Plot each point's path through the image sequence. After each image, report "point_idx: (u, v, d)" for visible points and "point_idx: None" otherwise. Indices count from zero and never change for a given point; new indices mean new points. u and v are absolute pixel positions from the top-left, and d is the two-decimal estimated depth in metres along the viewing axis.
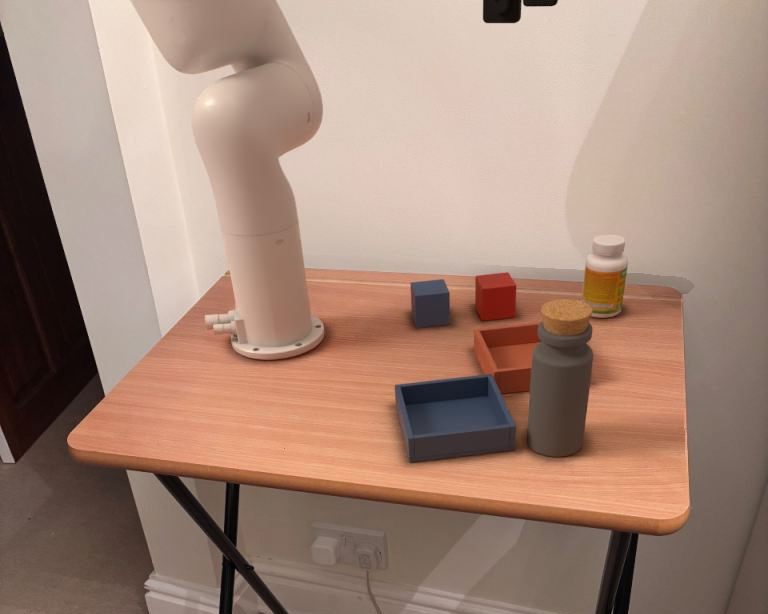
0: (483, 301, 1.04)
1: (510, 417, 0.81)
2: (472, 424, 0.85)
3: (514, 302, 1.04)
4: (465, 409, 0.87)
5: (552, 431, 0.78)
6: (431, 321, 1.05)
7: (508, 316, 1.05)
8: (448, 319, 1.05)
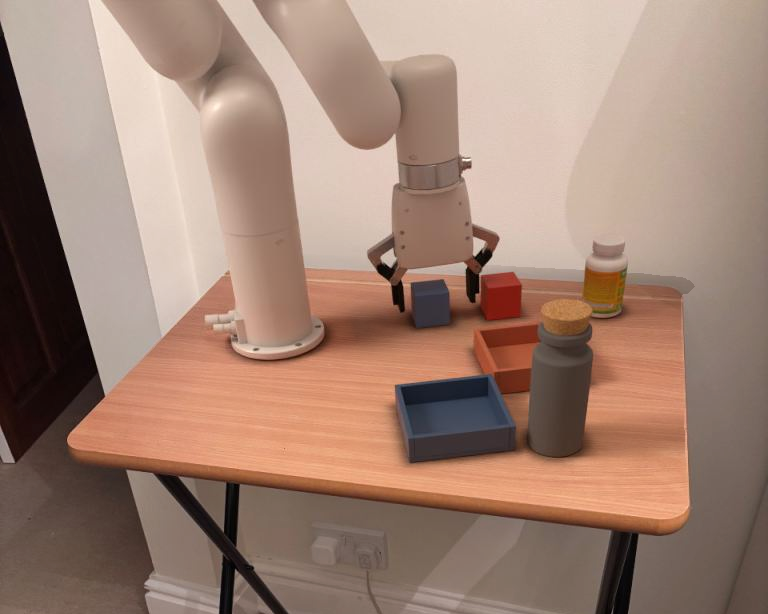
0: (488, 300, 1.04)
1: (510, 417, 0.81)
2: (472, 424, 0.85)
3: (519, 301, 1.04)
4: (465, 409, 0.87)
5: (552, 431, 0.78)
6: (431, 321, 1.05)
7: (513, 315, 1.06)
8: (448, 319, 1.05)
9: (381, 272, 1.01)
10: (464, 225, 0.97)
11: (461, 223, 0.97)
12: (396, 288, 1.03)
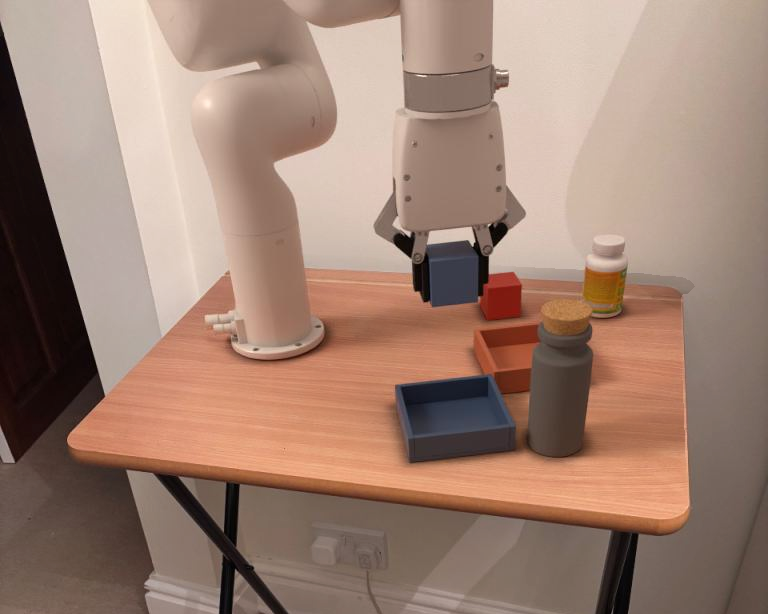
0: (488, 300, 1.04)
1: (510, 417, 0.81)
2: (472, 424, 0.85)
3: (519, 301, 1.04)
4: (465, 409, 0.87)
5: (552, 431, 0.78)
6: (452, 298, 0.76)
7: (513, 315, 1.06)
8: (476, 295, 0.76)
9: (400, 245, 0.73)
10: (495, 169, 0.69)
11: (491, 166, 0.68)
12: (419, 268, 0.75)
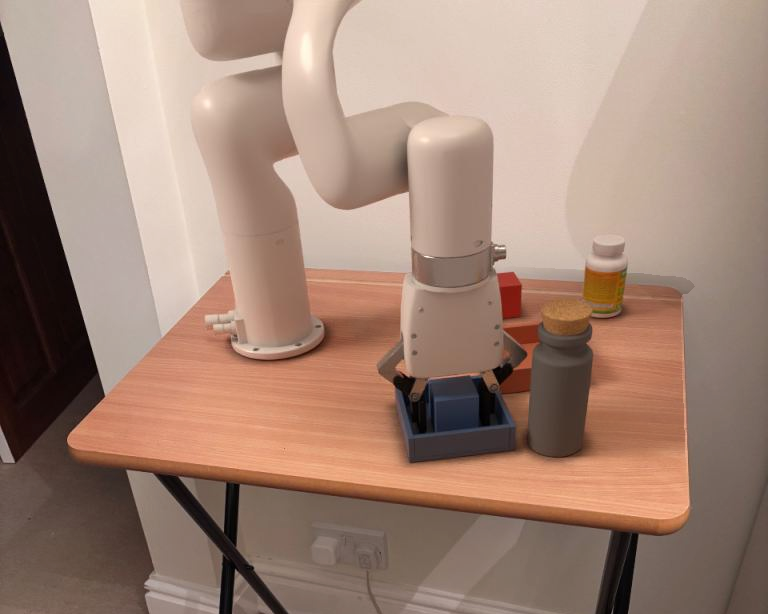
0: None
1: (510, 417, 0.81)
2: None
3: (519, 301, 1.04)
4: None
5: (552, 431, 0.78)
6: None
7: (513, 315, 1.06)
8: (476, 427, 0.83)
9: (399, 386, 0.80)
10: (493, 328, 0.76)
11: (490, 326, 0.76)
12: (416, 404, 0.82)
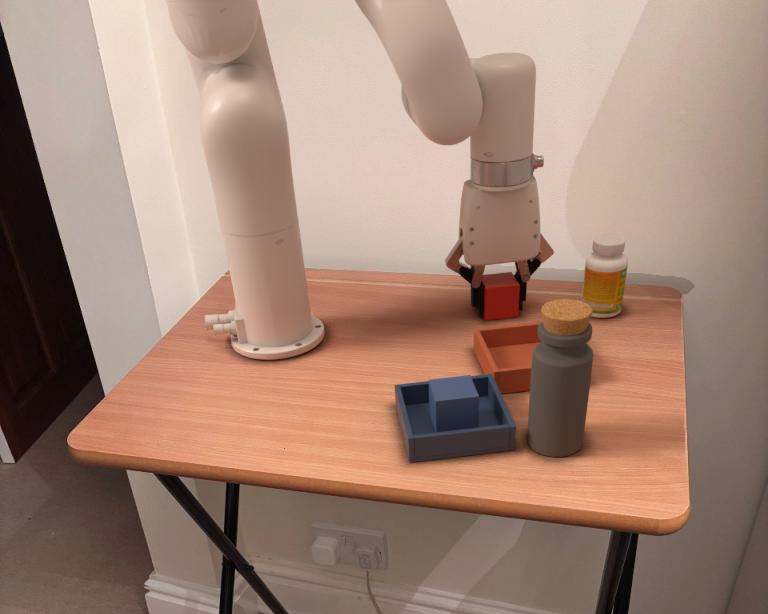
0: (486, 301, 1.04)
1: (510, 417, 0.81)
2: None
3: (517, 302, 1.04)
4: None
5: (552, 431, 0.78)
6: None
7: (511, 316, 1.06)
8: (476, 427, 0.83)
9: (464, 274, 1.03)
10: (533, 223, 0.98)
11: (530, 221, 0.98)
12: (477, 291, 1.04)
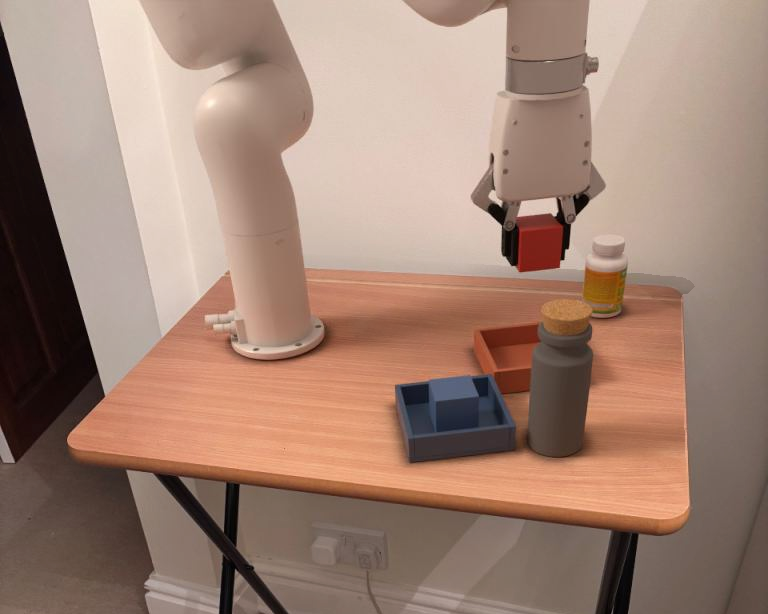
0: (521, 247, 0.84)
1: (510, 417, 0.81)
2: None
3: (559, 249, 0.84)
4: None
5: (552, 431, 0.78)
6: None
7: (552, 267, 0.86)
8: (476, 427, 0.83)
9: (494, 213, 0.82)
10: (583, 145, 0.78)
11: (580, 142, 0.78)
12: (509, 235, 0.84)
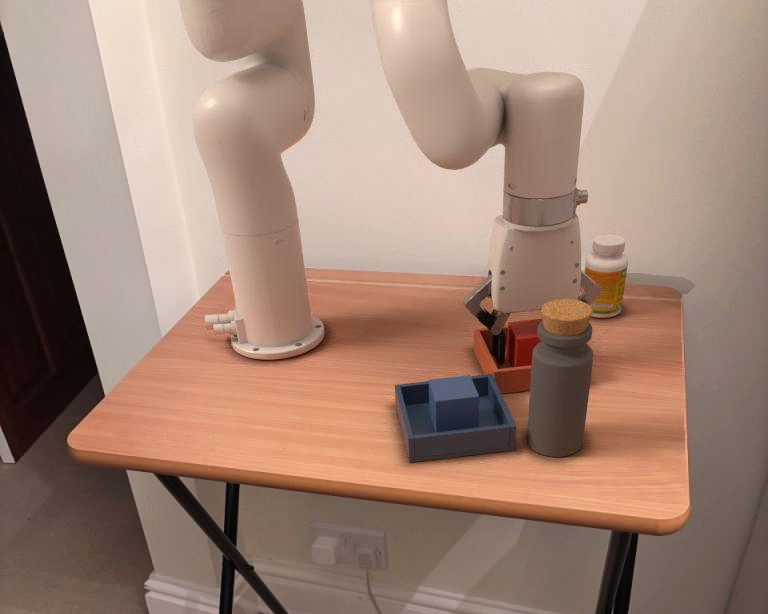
0: (517, 352, 0.91)
1: (510, 417, 0.81)
2: None
3: None
4: None
5: (552, 431, 0.78)
6: None
7: None
8: (476, 427, 0.83)
9: (482, 320, 0.89)
10: (573, 266, 0.85)
11: (570, 264, 0.85)
12: (497, 338, 0.91)
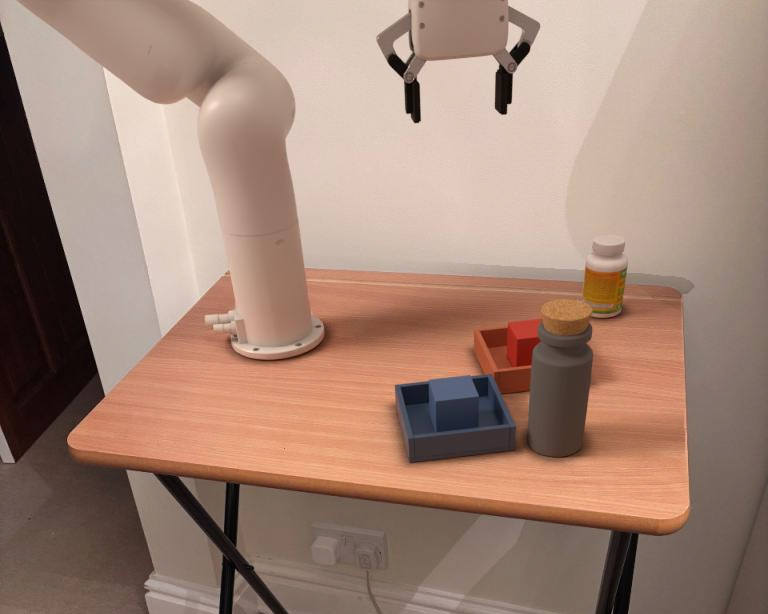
0: (517, 352, 0.91)
1: (510, 417, 0.81)
2: None
3: None
4: None
5: (552, 431, 0.78)
6: None
7: None
8: (476, 427, 0.83)
9: (393, 64, 0.82)
10: None
11: None
12: (411, 89, 0.84)
